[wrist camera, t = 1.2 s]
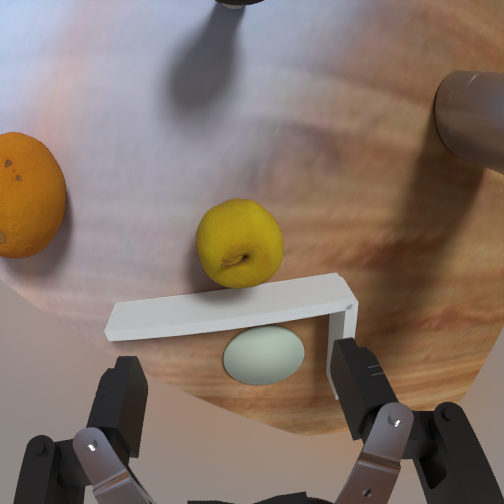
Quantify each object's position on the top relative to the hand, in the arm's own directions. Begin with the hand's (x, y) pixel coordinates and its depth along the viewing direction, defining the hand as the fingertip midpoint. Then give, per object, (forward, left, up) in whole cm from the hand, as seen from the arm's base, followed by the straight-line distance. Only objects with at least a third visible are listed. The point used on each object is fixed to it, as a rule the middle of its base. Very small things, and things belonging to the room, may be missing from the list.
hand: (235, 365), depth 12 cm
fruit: (+17, -6, -17) cm, 25 cm away
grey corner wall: (+1, +14, -17) cm, 22 cm away
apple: (-1, +1, -17) cm, 17 cm away
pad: (-2, +17, -17) cm, 24 cm away
